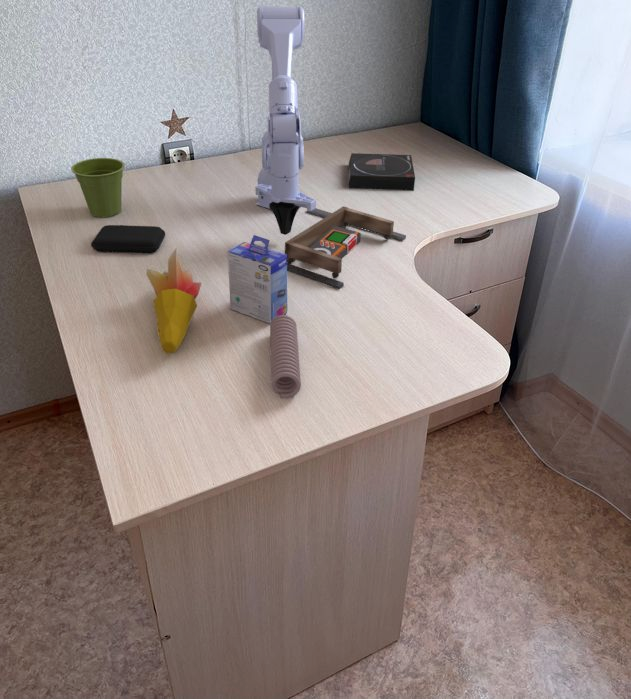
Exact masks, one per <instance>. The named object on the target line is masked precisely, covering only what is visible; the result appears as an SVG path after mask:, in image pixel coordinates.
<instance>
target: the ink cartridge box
mask: <svg viewBox="0 0 631 699" xmlns="http://www.w3.org/2000/svg"><path fill="white" fill-rule="evenodd" d="M270 241H271V240H270V239H268V238H266V237H265V238H264V237H261V236H258V235H256V234H253V235H252V238H251V241H250V242H248V241H247V242H246V241H243V242H242V243H240V244H238V245H236V246H234V247H233V248H231V249H230V250H228V251H227V267H228V268H227V269H228V285H229V290H228V291H229V308H230V310H232V311H236V312H238V313H240V314H244V315H246V316H248V317H252V318H254V319H256V320H257V319H258V320H260V321H262V322H265V323H267V324H270V323H271V321H272V319H273V318H275V317H276V316H279V315H286V314H287V313H288V271H287V254H285V252H284V253H283V252H280V251H278V250H277V251H276V250H274V249H270V248H269V246H270ZM255 242H261V243H263V245H265V246H261V245H258V244H256V243H255Z"/></svg>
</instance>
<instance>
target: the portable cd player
mask: <svg viewBox="0 0 631 699" xmlns="http://www.w3.org/2000/svg"><path fill="white" fill-rule="evenodd" d="M347 176H348V177H347V178H348V179H347V186H348V188H349V189H350V190H351V189H352V190H378V191H379V190H380V191H382V190H383V191H408V192H409V191H412V192H413V191H415V183H416V182H415V181H416V174H415V168H414V164H413V158H412V155H411V154H391V153H390V154H389V153H361V152H360V153H357V152H356V153H354V152H352V153H351V155H350V158H349V161H348V175H347Z"/></svg>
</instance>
